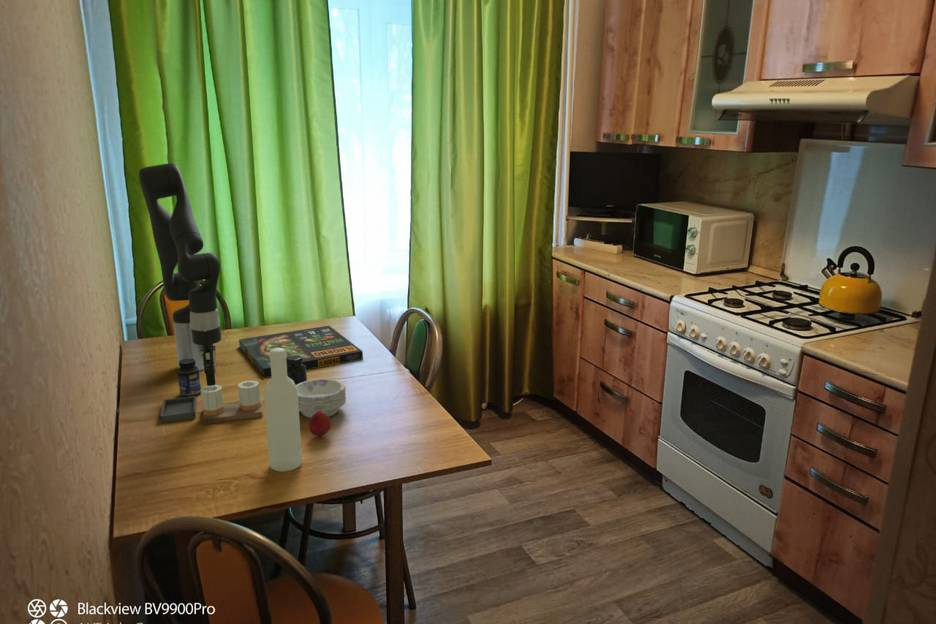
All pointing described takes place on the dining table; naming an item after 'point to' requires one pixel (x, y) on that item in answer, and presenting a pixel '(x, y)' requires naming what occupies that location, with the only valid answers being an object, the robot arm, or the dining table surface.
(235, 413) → the pin board
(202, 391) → the sleeve
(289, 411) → the bottle
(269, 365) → the pizza box
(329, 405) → the paper bowls
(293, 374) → the supplement bottle
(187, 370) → the pill bottle
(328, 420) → the onion
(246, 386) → the seated sleeve
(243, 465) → the dining table surface
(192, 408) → the feeder tray
